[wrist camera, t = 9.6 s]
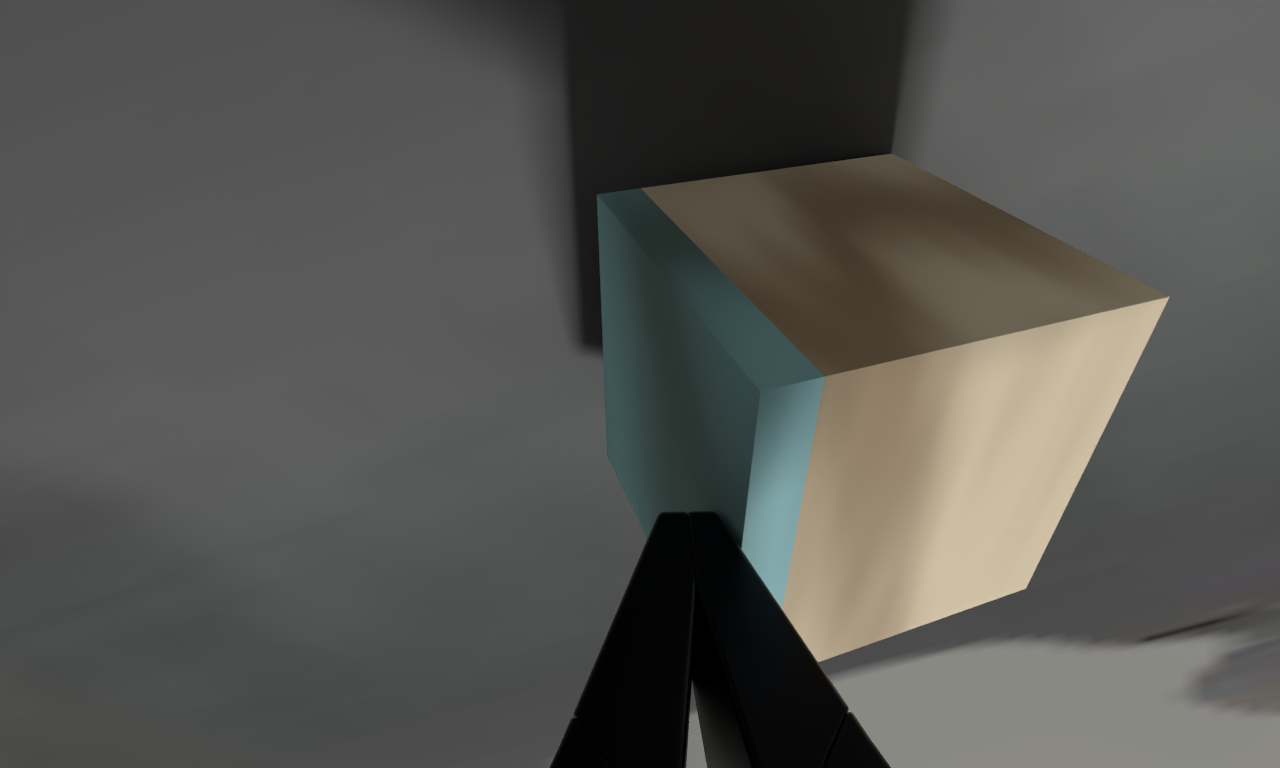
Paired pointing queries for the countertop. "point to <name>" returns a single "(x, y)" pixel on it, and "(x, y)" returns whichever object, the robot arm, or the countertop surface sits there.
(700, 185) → the maple cube
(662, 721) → the robot arm
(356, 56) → the countertop surface
